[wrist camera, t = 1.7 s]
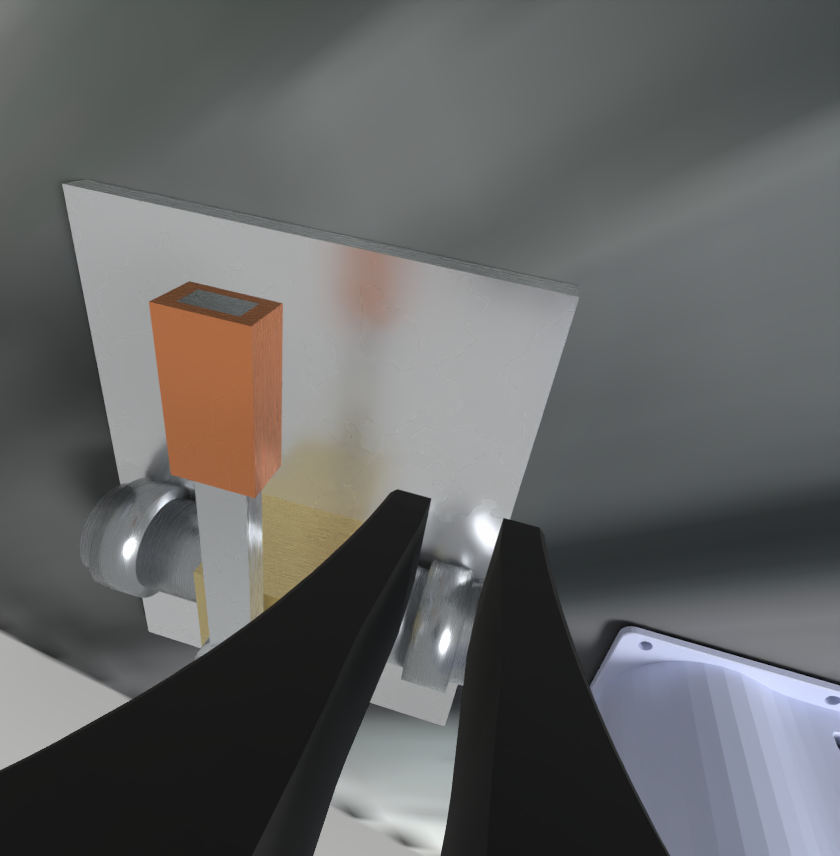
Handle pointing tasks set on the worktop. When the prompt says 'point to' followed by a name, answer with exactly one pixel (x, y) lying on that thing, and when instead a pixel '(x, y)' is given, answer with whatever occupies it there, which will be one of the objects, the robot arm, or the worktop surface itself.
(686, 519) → the worktop surface
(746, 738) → the robot arm
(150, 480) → the valve rig
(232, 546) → the lever
